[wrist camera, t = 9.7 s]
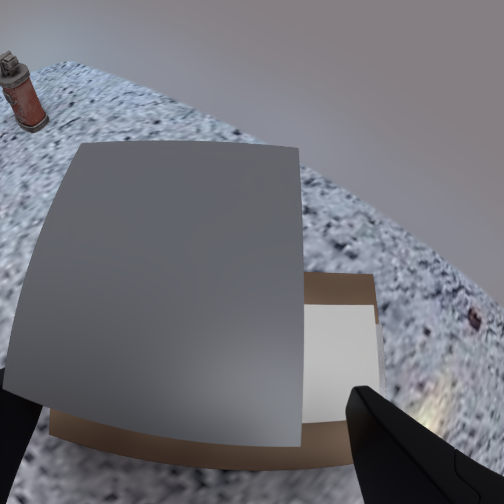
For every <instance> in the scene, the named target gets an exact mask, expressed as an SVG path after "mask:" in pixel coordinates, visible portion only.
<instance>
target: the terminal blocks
mask: <svg viewBox="0 0 504 504" xmlns="http://www.w3.org/2000/svg"><path fill="white" fill-rule="evenodd" d="M362 385H367V386H369V387H371V388H372V389H373V390H375V391H376V392H377V393H379V394H380V391H379V366H378V350H377V336H376V324H375V314H374V305H307V304H304V372H303V406H302V423H316V422H331V421H343V420H346V415H345V409H346V405H347V402H348V399H349V396H350V393H351V390H352V388H353V387H354V386H362Z"/></svg>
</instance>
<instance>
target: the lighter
mask: <svg viewBox="0 0 504 504" xmlns="http://www.w3.org/2000/svg"><path fill="white" fill-rule="evenodd" d="M0 69H1V71H0V86H1V87H2V88H3V91H2V92H3V94H4V96H5V98H6V100H7V101H8V103H10V105H11V107H12V109H13V111H14V113H15V114H14V115H15V118H16V120H17V122H18V124H19V125H20V127H21V128H22V129H24V130H25V131H28V132H31V133H36V132H38V131H40V130H42V129H43V128H44V127H45V126H46V125H47V124H48V122H49V118H48V116H47V113H46V112H45V110H44V109H43V108H42V106H41V104H40V102H39V99H38V97H37V95H36V92H35V90H34V88H33V85H32V83H31V80H30V78H29V76H30V73H29V70H28V68H27V66H26V65H24V64H21V63H19V62H18V60H17V57H16V56H14V55H12V54H11V52H10V51H7V52H6V53H4V54H2V55H1V56H0Z"/></svg>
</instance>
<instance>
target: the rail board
mask: <svg viewBox="0 0 504 504" xmlns="http://www.w3.org/2000/svg"><path fill="white" fill-rule="evenodd" d="M304 304H307V305H374V314H375V324H379V320H378V310H377V301H376V293H375V285H374V277H373V274H347V273H319V272H304ZM49 435H52V436H55V437H57V438H60V439H63V440H66V441H70V442H73V443H76V444H79V445H83V446H86V447H90V448H93V449H97V450H101V451H105V452H109V453H113V454H117V455H122V456H126V457H131V458H136V459H141V460H147V461H152V462H158V463H165V464H172V465H179V466H188V467H197V468H209V469H223V470H250V471H272V470H298V469H313V468H324V467H334V466H342V465H349V464H354V463H353V459H352V454H351V447H350V440H349V434H348V428H347V421H346V420H343V421H331V422H316V423H302V429H301V446H300V447H263V446H240V445H225V444H214V443H204V442H195V441H187V440H180V439H173V438H167V437H161V436H155V435H150V434H144V433H139V432H135V431H130V430H125V429H121V428H117V427H113V426H109V425H105V424H101V423H97V422H93V421H90V420H86V419H83V418H80V417H76V416H73V415H70V414H67V413H64V412H61V411H58V410H55V409H52V408H50V424H49Z"/></svg>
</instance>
